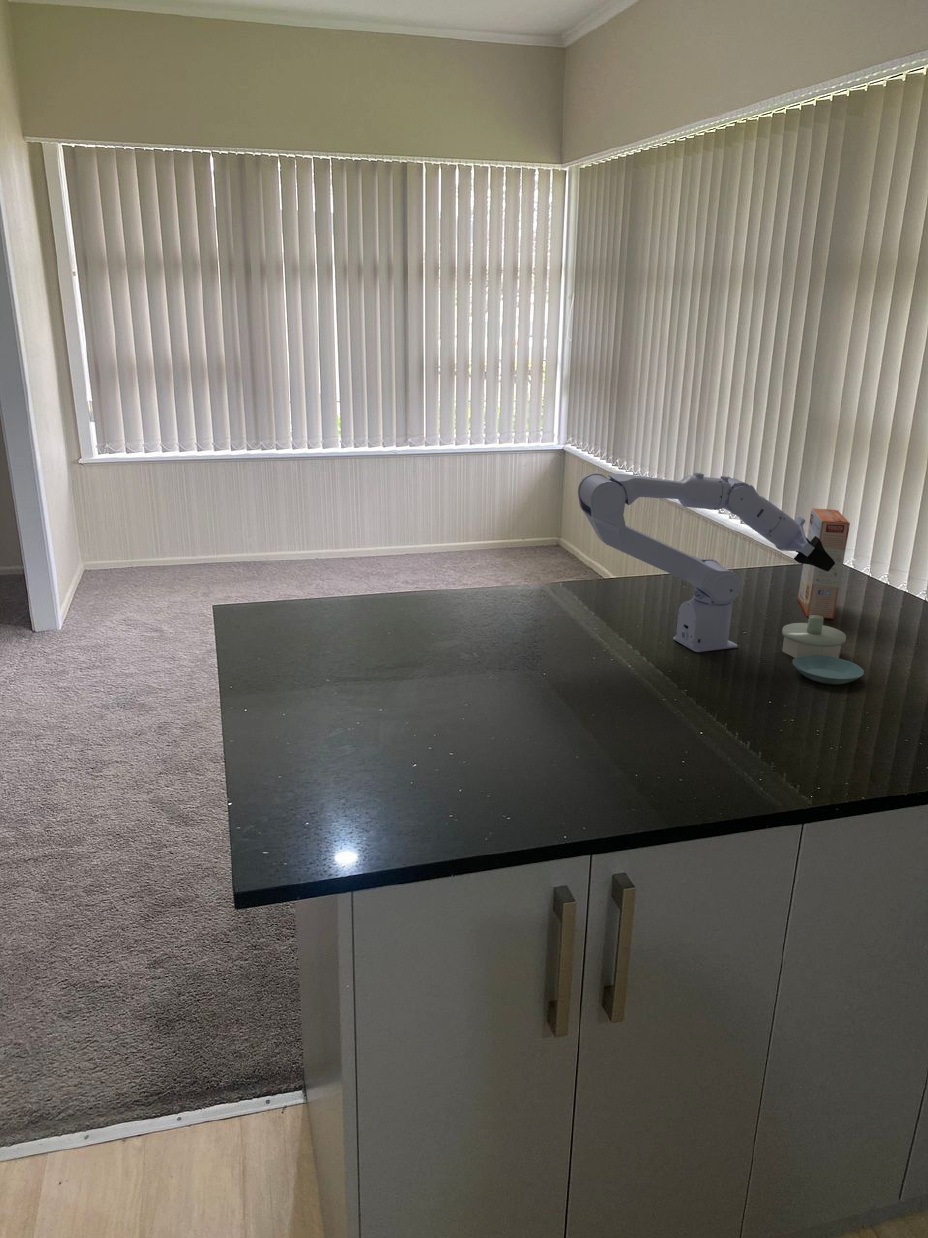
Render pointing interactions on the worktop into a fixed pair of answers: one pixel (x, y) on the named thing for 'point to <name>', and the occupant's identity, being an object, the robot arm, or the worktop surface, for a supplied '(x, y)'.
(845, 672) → the saucer
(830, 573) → the cracker box
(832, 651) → the bowl
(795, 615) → the worktop surface
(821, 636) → the lid
